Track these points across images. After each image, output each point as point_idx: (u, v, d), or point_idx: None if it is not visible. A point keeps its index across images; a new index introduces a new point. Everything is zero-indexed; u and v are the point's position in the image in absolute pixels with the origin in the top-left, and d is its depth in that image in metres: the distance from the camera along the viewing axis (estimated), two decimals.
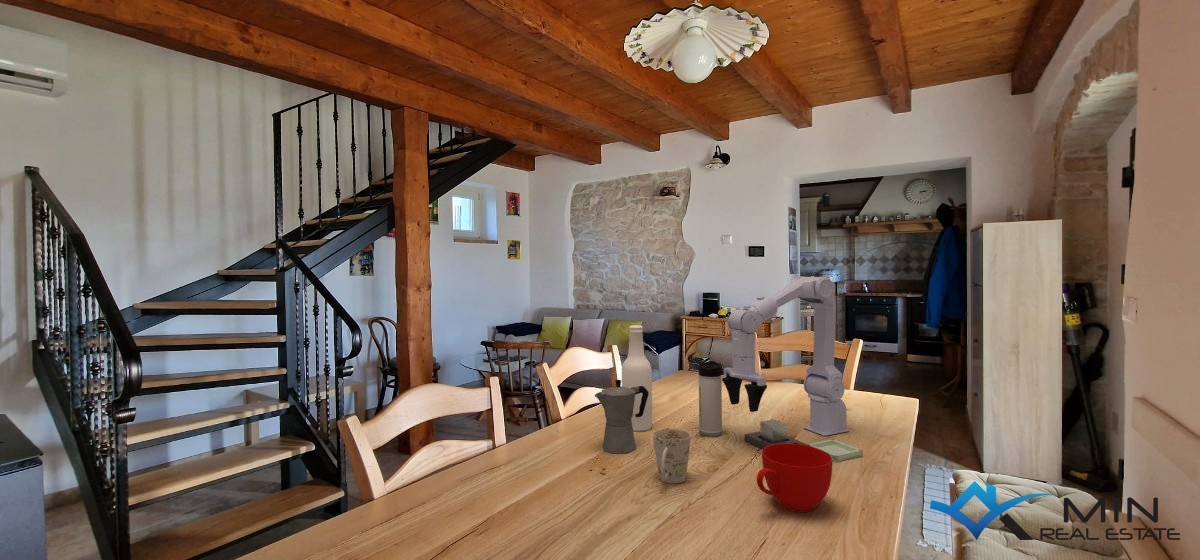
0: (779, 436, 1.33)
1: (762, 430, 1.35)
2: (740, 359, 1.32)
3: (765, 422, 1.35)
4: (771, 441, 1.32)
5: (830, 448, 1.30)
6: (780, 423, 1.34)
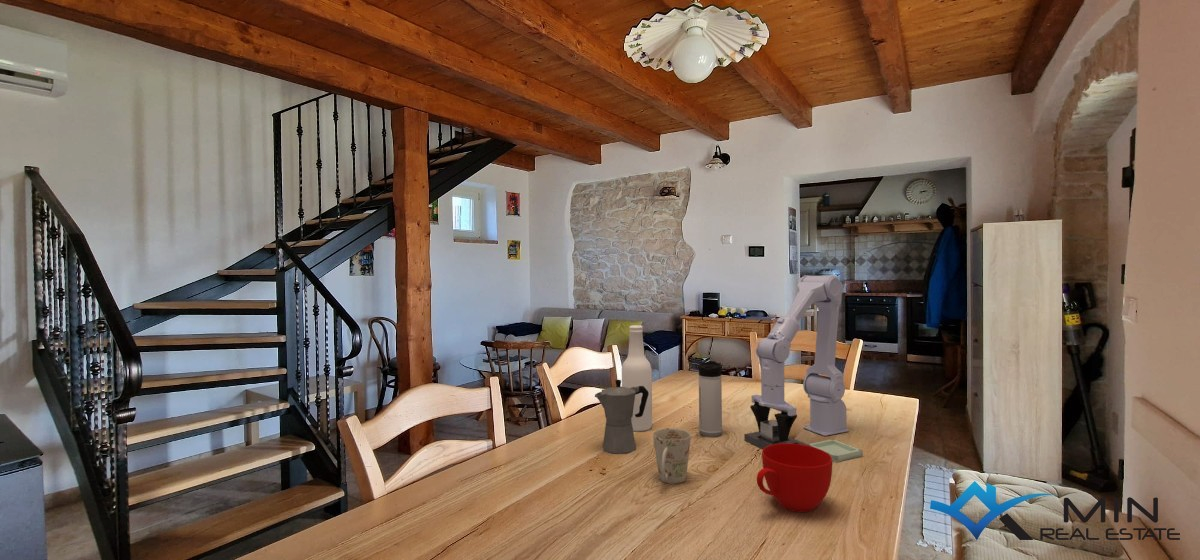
0: None
1: (762, 430, 1.35)
2: (770, 388, 1.32)
3: (765, 422, 1.35)
4: (771, 441, 1.32)
5: (830, 448, 1.30)
6: None
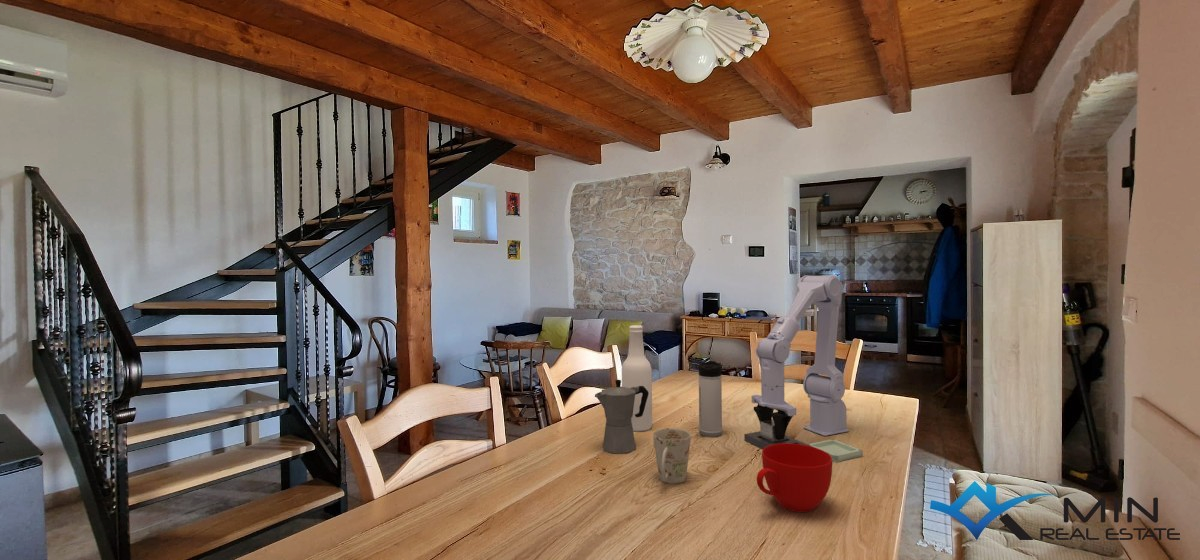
0: None
1: (762, 430, 1.35)
2: (770, 388, 1.32)
3: (765, 422, 1.35)
4: (771, 441, 1.32)
5: (830, 448, 1.30)
6: None
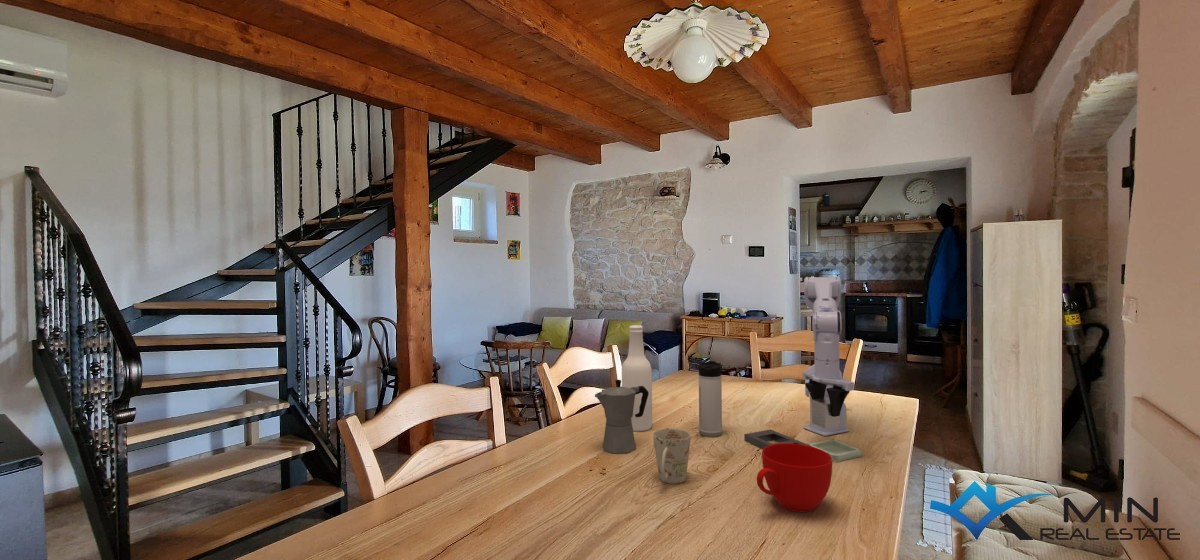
0: None
1: (814, 408, 1.29)
2: (825, 363, 1.26)
3: (817, 400, 1.29)
4: (824, 420, 1.26)
5: (830, 448, 1.30)
6: None
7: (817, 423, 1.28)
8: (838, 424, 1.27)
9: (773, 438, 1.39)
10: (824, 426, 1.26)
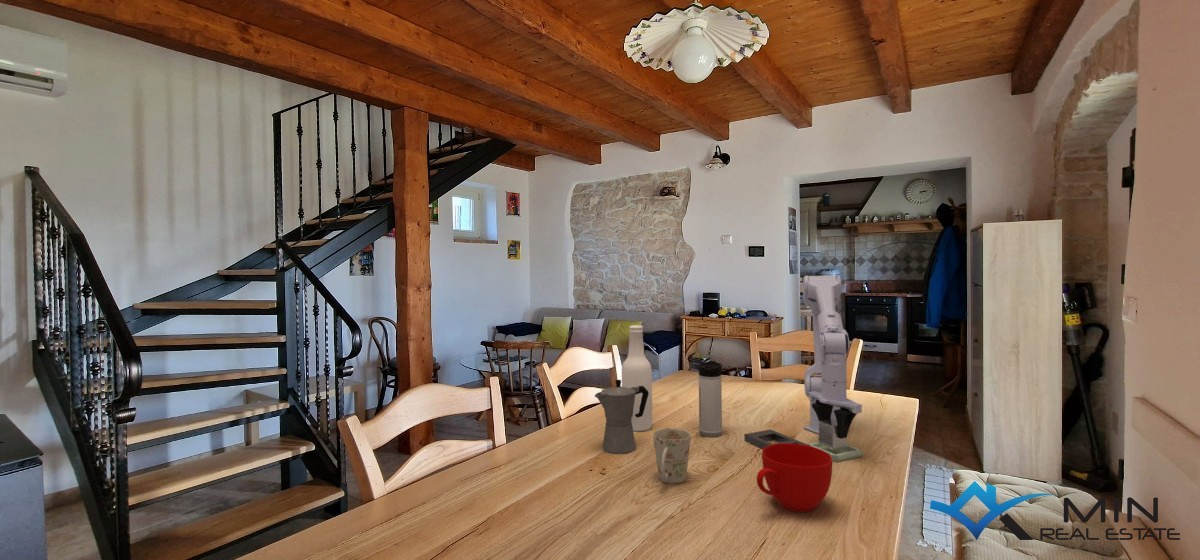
0: None
1: (821, 430, 1.29)
2: (832, 384, 1.25)
3: (824, 421, 1.29)
4: (831, 441, 1.26)
5: None
6: None
7: (824, 445, 1.28)
8: (845, 446, 1.27)
9: (773, 438, 1.39)
10: (831, 448, 1.26)
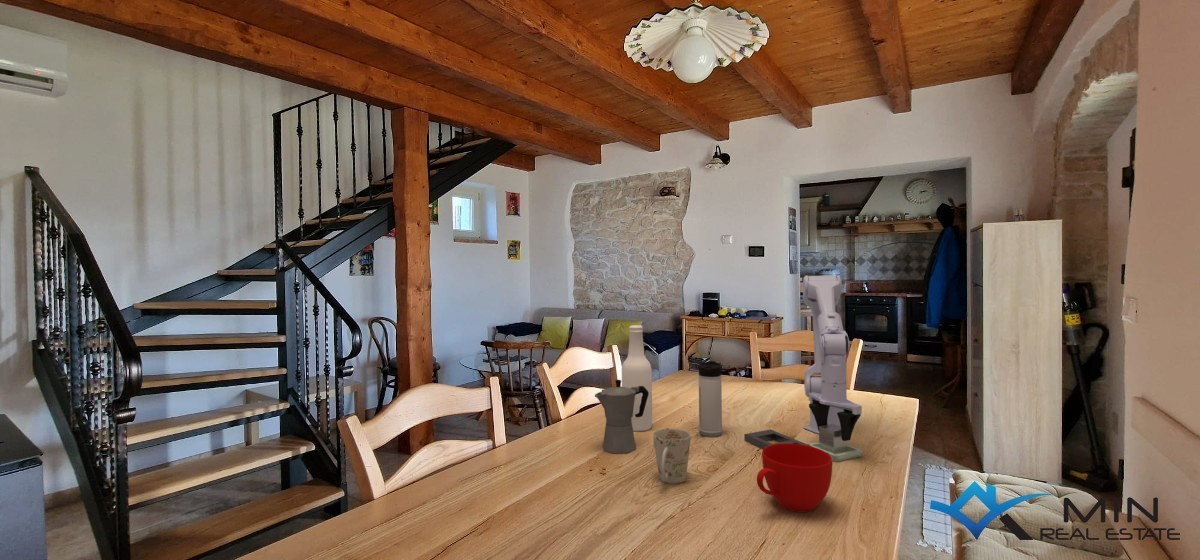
0: (840, 442, 1.26)
1: (821, 435, 1.29)
2: (832, 386, 1.25)
3: (824, 427, 1.28)
4: (832, 447, 1.26)
5: None
6: None
7: (825, 450, 1.28)
8: (846, 451, 1.27)
9: (773, 438, 1.39)
10: None
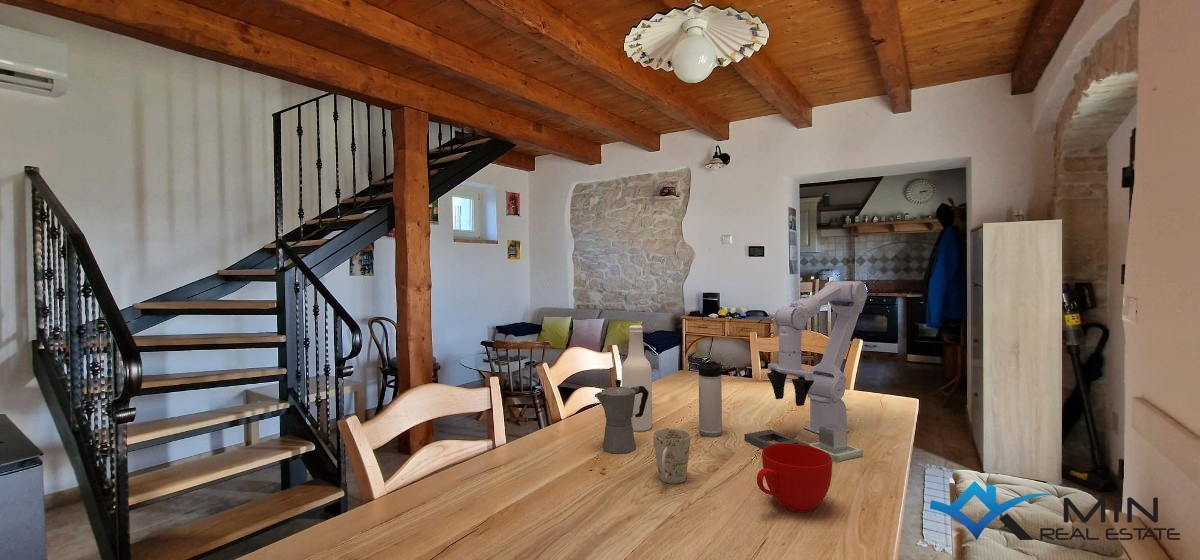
0: (840, 442, 1.26)
1: (821, 435, 1.29)
2: (787, 354, 1.35)
3: (824, 427, 1.28)
4: (832, 447, 1.26)
5: None
6: (841, 428, 1.27)
7: (825, 450, 1.28)
8: (846, 451, 1.27)
9: (773, 438, 1.39)
10: None
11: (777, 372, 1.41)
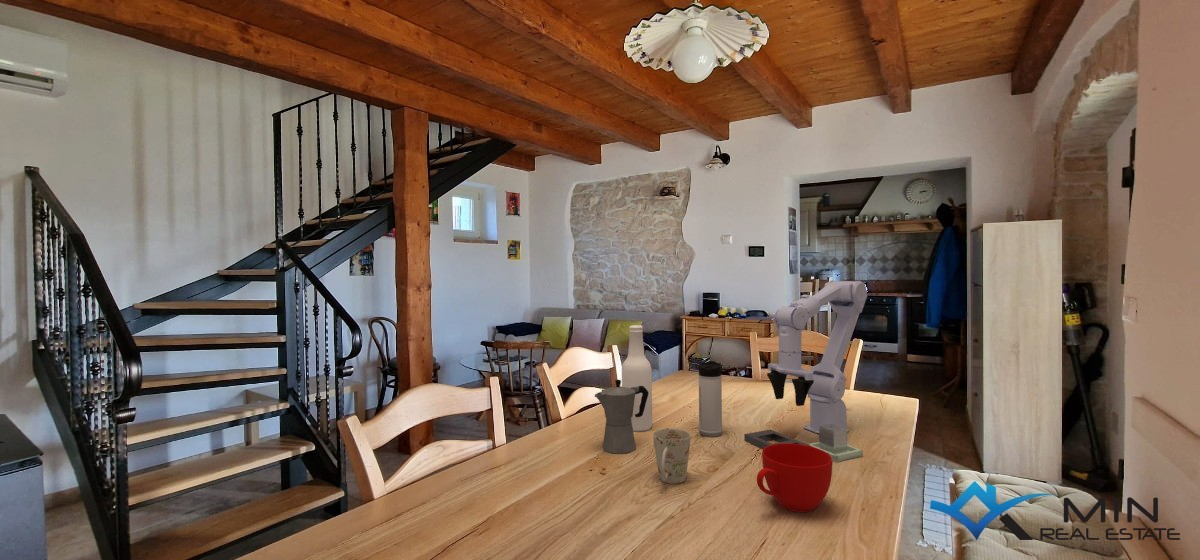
0: (840, 442, 1.26)
1: (821, 435, 1.29)
2: (787, 354, 1.35)
3: (824, 427, 1.28)
4: (832, 447, 1.26)
5: None
6: (841, 428, 1.27)
7: (825, 450, 1.28)
8: (846, 451, 1.27)
9: (773, 438, 1.39)
10: None
11: (777, 372, 1.41)
